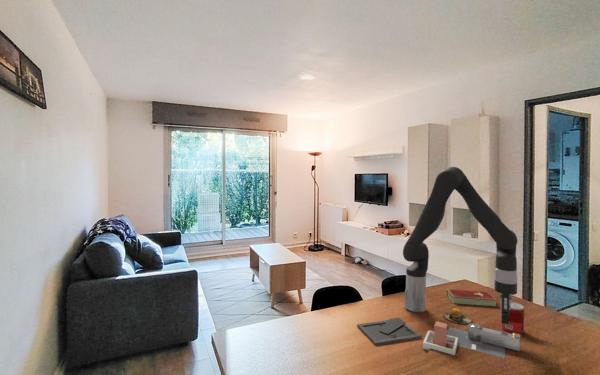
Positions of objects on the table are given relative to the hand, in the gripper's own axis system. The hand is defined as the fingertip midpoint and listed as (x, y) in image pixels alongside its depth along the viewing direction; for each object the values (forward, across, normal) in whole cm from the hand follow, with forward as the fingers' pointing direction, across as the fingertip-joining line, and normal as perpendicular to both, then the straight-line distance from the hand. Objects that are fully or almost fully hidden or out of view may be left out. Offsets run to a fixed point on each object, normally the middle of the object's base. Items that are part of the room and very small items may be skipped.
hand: (505, 323), depth 124 cm
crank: (+6, -6, +4) cm, 10 cm away
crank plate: (+8, -8, +10) cm, 15 cm away
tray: (+8, -18, +21) cm, 28 cm away
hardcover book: (+8, +40, +15) cm, 44 cm away
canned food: (+8, +14, -3) cm, 16 cm away
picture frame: (+8, -18, +42) cm, 46 cm away
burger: (+8, +10, +18) cm, 22 cm away
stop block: (+7, -18, +21) cm, 28 cm away
